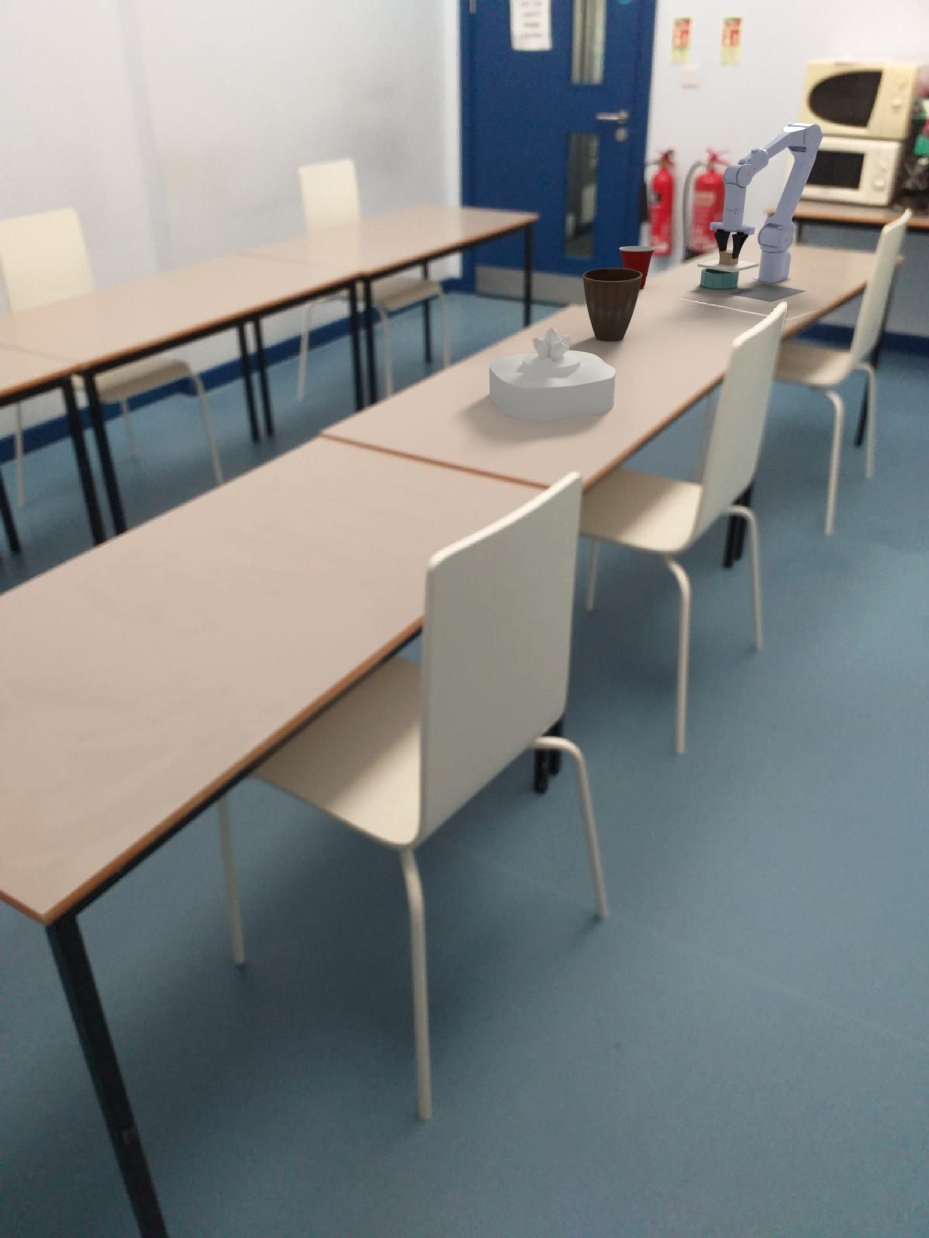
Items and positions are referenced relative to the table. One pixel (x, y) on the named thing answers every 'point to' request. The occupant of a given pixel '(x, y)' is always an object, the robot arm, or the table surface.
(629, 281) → the plant pot
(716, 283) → the bowl
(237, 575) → the table surface
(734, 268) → the lid
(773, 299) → the mat
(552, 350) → the tissue box
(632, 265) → the plastic cup
